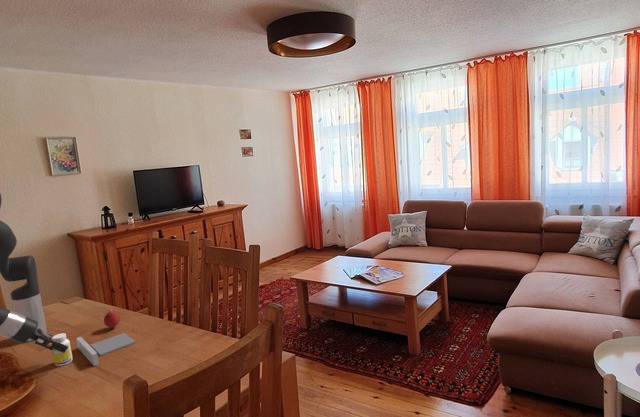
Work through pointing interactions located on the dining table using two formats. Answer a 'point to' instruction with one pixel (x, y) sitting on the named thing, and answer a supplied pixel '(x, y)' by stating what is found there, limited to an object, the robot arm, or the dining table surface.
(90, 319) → the dining table surface
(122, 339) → the slate mat
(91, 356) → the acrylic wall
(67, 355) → the supplement bottle
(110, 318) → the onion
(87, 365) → the dining table surface
